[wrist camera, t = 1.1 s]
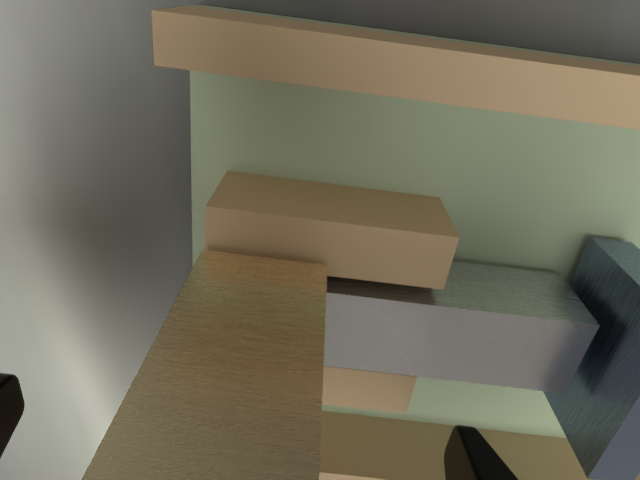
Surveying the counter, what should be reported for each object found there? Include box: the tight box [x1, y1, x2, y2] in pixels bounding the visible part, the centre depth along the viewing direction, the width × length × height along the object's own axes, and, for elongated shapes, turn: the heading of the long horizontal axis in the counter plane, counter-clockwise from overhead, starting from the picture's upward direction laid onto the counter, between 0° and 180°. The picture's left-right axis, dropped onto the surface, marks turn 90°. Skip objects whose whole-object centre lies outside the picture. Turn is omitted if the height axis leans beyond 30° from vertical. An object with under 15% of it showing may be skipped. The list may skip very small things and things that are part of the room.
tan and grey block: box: [82, 237, 640, 480], centre depth 11 cm, size 5×12×8 cm, turn 83°
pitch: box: [152, 4, 640, 480], centre depth 14 cm, size 14×27×4 cm, turn 83°
